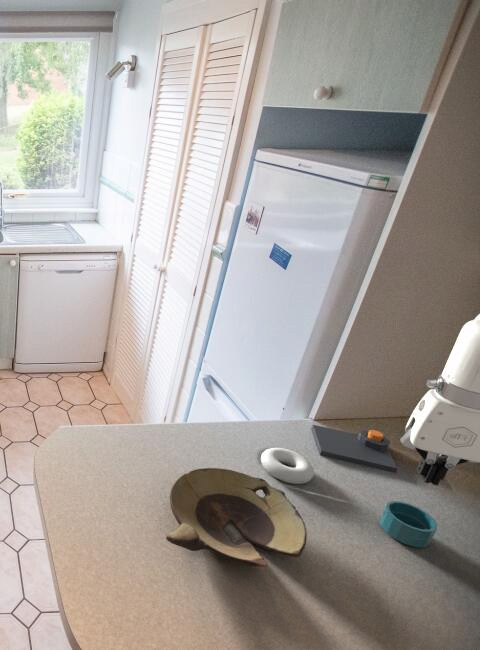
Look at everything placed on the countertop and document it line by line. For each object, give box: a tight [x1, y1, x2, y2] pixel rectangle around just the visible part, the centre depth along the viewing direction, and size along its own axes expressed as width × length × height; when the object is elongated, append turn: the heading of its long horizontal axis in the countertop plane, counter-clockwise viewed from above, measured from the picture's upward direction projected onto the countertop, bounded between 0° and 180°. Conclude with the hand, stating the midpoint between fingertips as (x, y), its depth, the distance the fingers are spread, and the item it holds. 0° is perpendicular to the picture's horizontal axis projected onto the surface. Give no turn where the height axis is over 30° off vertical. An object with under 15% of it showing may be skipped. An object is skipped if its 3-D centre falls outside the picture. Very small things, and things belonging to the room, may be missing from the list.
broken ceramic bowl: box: [165, 467, 308, 568], centre depth 87 cm, size 22×30×8 cm
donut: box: [260, 447, 315, 485], centre depth 102 cm, size 10×4×10 cm
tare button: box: [367, 429, 384, 442], centre depth 108 cm, size 3×3×2 cm
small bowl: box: [378, 500, 439, 548], centre depth 86 cm, size 7×7×4 cm
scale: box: [310, 424, 399, 474], centre depth 108 cm, size 14×11×3 cm
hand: (427, 478), depth 82 cm, fingers closed
